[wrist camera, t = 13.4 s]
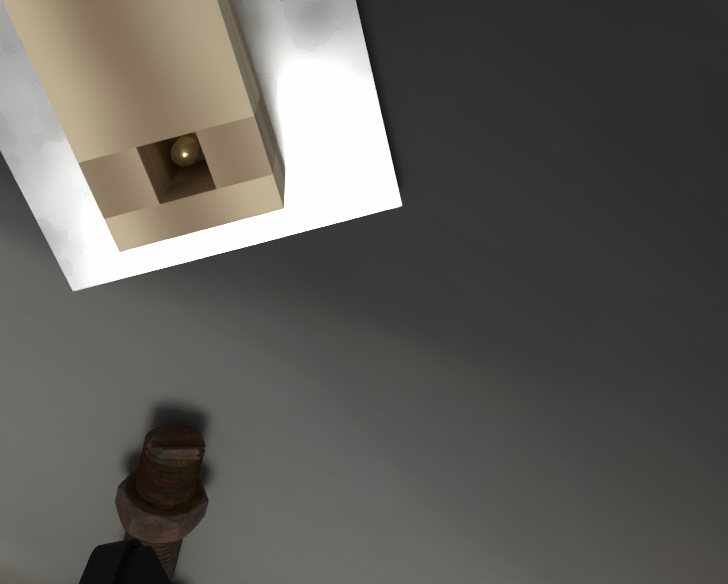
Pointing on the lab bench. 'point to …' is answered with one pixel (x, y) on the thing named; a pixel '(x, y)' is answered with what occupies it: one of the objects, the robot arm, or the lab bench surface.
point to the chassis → (291, 127)
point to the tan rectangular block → (156, 110)
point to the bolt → (164, 493)
